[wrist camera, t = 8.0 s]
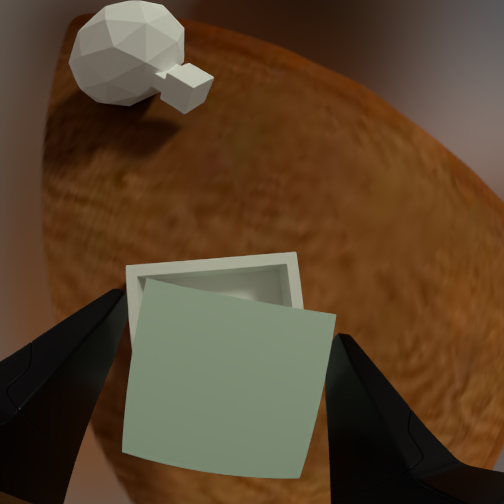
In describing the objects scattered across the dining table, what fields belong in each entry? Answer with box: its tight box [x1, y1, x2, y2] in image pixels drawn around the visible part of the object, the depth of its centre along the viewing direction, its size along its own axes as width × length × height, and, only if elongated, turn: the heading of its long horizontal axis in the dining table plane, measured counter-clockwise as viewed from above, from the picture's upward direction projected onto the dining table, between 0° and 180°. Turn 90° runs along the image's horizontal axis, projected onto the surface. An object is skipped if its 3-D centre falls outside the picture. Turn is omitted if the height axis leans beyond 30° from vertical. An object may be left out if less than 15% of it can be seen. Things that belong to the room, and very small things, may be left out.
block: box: [122, 278, 336, 478], centre depth 10 cm, size 4×4×11 cm
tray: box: [126, 252, 304, 351], centre depth 15 cm, size 9×9×3 cm
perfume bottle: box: [69, 1, 214, 114], centre depth 16 cm, size 9×9×12 cm
